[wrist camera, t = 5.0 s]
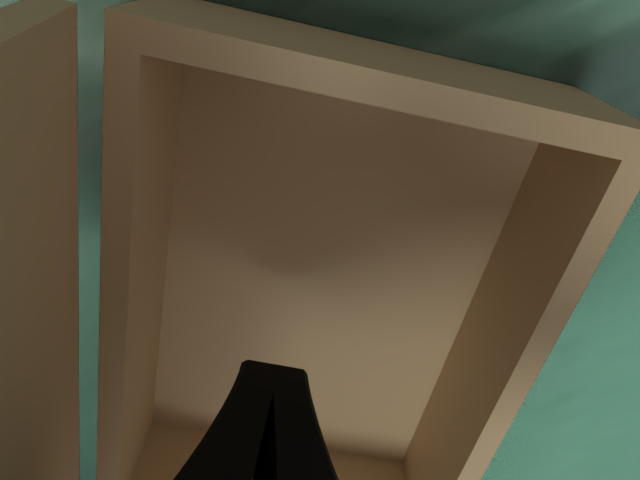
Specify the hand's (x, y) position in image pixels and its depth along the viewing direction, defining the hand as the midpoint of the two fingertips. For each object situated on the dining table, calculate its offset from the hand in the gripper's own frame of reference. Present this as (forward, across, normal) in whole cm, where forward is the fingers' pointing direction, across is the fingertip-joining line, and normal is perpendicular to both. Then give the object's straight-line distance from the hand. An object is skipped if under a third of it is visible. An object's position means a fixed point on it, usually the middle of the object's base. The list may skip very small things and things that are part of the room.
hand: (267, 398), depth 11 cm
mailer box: (+5, -1, 0) cm, 5 cm away
